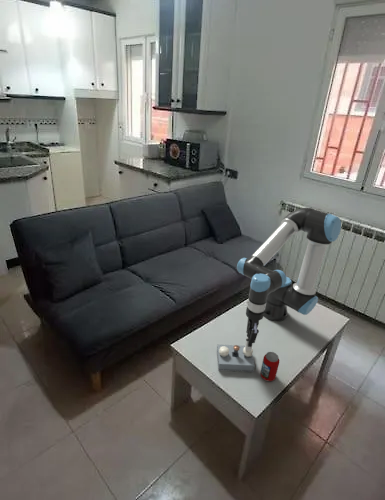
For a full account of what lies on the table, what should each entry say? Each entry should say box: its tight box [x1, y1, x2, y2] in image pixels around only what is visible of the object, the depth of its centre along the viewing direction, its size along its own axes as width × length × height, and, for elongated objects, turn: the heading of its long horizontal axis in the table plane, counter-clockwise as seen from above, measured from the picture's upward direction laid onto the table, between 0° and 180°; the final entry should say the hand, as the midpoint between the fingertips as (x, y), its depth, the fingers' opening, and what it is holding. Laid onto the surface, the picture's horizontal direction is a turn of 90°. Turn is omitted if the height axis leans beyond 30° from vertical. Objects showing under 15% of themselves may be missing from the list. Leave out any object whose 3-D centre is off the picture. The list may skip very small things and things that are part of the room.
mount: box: [216, 344, 256, 373], centre depth 144 cm, size 16×12×4 cm
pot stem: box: [233, 344, 240, 355], centre depth 142 cm, size 3×3×4 cm
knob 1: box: [219, 346, 229, 357], centre depth 143 cm, size 4×4×5 cm
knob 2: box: [243, 347, 254, 358], centre depth 143 cm, size 4×4×5 cm
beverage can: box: [260, 351, 280, 382], centre depth 135 cm, size 7×7×12 cm
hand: (248, 349), depth 141 cm, fingers closed
